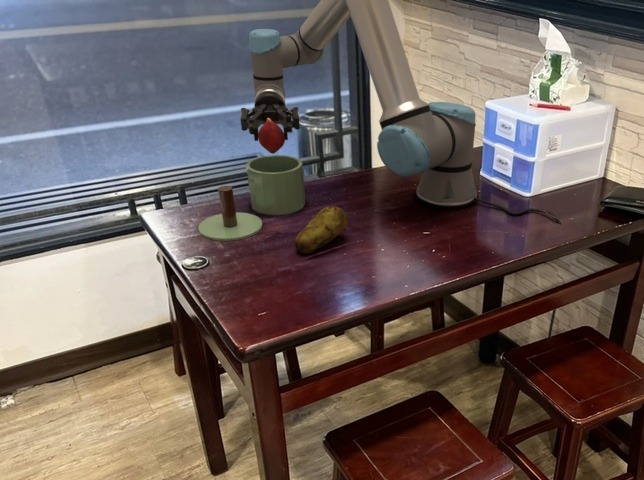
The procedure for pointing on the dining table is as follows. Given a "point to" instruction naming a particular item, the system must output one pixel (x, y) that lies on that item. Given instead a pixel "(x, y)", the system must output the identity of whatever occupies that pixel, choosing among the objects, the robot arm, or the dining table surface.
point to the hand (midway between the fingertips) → (270, 134)
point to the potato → (321, 229)
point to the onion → (271, 136)
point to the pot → (276, 184)
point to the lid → (229, 220)
